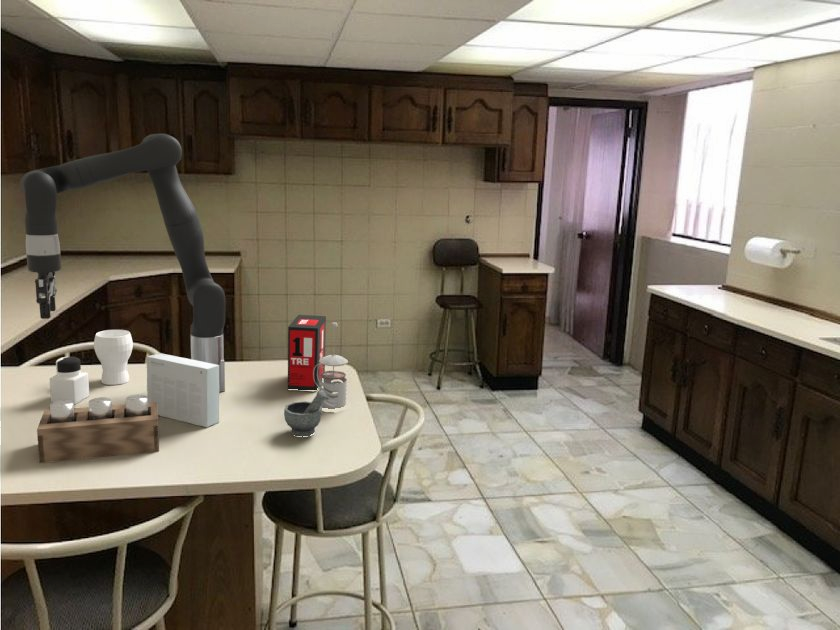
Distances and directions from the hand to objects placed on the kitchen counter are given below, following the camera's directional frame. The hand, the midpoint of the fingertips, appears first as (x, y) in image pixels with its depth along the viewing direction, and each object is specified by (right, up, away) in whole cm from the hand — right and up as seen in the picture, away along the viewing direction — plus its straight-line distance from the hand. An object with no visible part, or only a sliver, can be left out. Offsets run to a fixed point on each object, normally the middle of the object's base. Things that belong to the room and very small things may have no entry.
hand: (48, 314), depth 175 cm
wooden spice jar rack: (+20, -31, -13) cm, 39 cm away
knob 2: (+28, -25, -11) cm, 39 cm away
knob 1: (+13, -25, -17) cm, 33 cm away
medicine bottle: (-3, -24, +16) cm, 29 cm away
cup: (+3, -20, +33) cm, 39 cm away
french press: (+70, -27, +21) cm, 78 cm away
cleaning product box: (+60, -22, +41) cm, 75 cm away
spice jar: (+20, -25, -14) cm, 35 cm away
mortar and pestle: (+66, -31, +1) cm, 73 cm away
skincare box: (+32, -28, +8) cm, 43 cm away
